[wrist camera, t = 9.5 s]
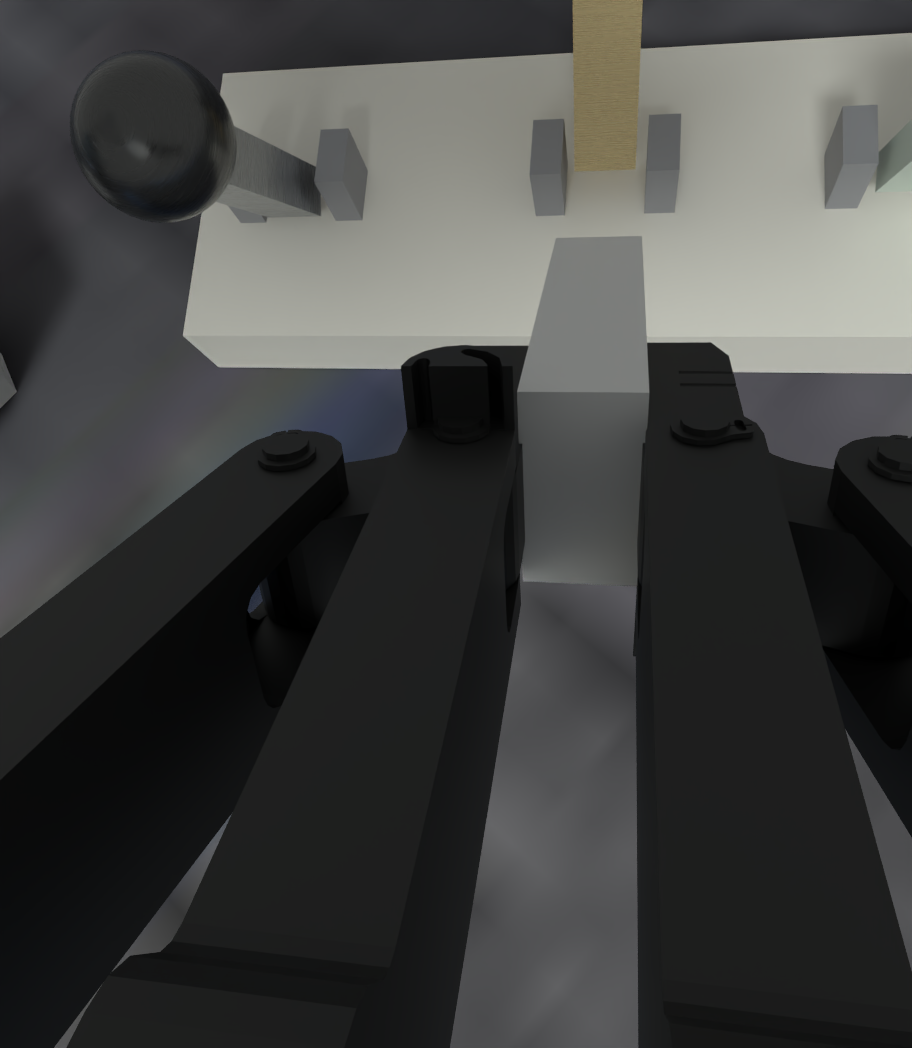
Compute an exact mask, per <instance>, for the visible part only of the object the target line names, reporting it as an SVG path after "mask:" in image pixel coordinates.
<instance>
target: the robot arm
mask: <svg viewBox="0 0 912 1048" xmlns="http://www.w3.org/2000/svg"><path fill="white" fill-rule="evenodd" d="M401 372H402V382H403V391H404V400H405V409H406V419H407V428H408V429H407V432H406V434H405V436H404V438H403V440H402V443H401V445H400V447H399V449H398V451H397V453H395V454H392V455H389V456H384V457H379V458H375V459H369V460H362V461H355V462H348V463H344V458H343V452H342V446H341V443H340V442H339V441H337V440H336V439H335V438H334V437H332V436H330V435H326V434H323V433H319V432H310V431H301V430H288V432H286V431H281V432H276V433H273V434H272V435H271V436H268V437H265V438H262V439H259V440H256V441H254V442H253V443H251V444H249V445H247V446H246V447H244V448H242V449H241V450H239V451H238V452H237V453H236V454H234V455H233V456H232V457H231V458H229V459H228V460H227V461H225V462H224V463H223V464H222V465H220V466H219V467H218V468H217V469H215V470H214V471H213V472H211V473H210V474H209V475H208V476H206V477H205V478H204V479H203V480H201V481H200V482H199V483H197V484H196V485H195V486H194V487H192V488H191V489H190V490H189V491H187V492H186V493H185V494H183V495H182V496H181V497H180V498H178V499H177V500H176V501H175V502H173V503H172V504H171V505H169V506H168V507H167V508H166V509H164V510H163V511H162V512H161V513H159V514H158V515H157V516H155V517H154V518H153V519H152V520H150V521H149V522H148V523H147V524H145V525H144V526H143V527H141V528H140V529H139V530H138V531H136V532H135V533H134V534H133V535H131V536H130V537H129V538H127V539H126V540H125V541H124V542H122V543H121V544H120V545H119V546H117V547H116V548H115V549H113V550H112V551H111V552H110V553H108V554H107V555H106V556H105V557H103V558H102V559H101V560H99V561H98V562H97V563H96V564H94V565H93V566H92V567H91V568H89V569H88V570H87V571H85V572H84V573H83V574H82V575H80V576H79V577H78V578H77V579H75V580H74V581H73V582H71V583H70V584H69V585H68V586H66V587H65V588H64V589H63V590H61V591H60V592H59V593H57V594H56V595H55V596H54V597H52V598H51V599H50V600H49V601H47V602H46V603H45V604H43V605H42V606H41V607H40V608H38V609H37V610H36V611H35V612H33V613H32V614H31V615H29V616H28V617H27V618H26V619H24V620H23V621H22V622H21V623H19V624H18V625H17V626H15V627H14V628H13V629H12V630H10V631H9V632H8V633H7V634H5V635H4V636H3V637H1V638H0V1048H54V1047H55V1045H56V1044H57V1043H58V1041H59V1040H60V1039H61V1037H62V1036H63V1035H64V1034H65V1032H66V1031H67V1030H68V1028H69V1027H70V1026H71V1024H72V1023H73V1022H74V1020H75V1019H76V1018H77V1016H78V1015H79V1014H80V1012H81V1011H82V1010H83V1008H84V1007H85V1006H86V1005H87V1003H88V1002H89V1001H90V999H91V998H92V997H93V995H94V994H95V993H96V991H97V990H98V989H99V987H100V986H101V985H102V986H101V987H100V989H99V990H98V992H97V994H96V995H95V997H94V998H93V1000H92V1002H91V1003H90V1005H89V1006H88V1008H87V1009H86V1011H85V1013H84V1015H83V1016H82V1018H81V1020H80V1022H79V1024H78V1026H77V1028H76V1030H75V1032H74V1034H73V1036H72V1038H71V1040H70V1042H69V1044H68V1046H67V1048H450V1043H451V1036H452V1030H453V1024H454V1018H455V1011H456V1005H457V999H458V993H459V986H460V980H461V974H462V968H463V961H464V955H465V949H466V943H467V937H468V930H469V924H470V918H471V912H472V905H473V899H474V893H475V887H476V880H477V874H478V868H479V862H480V855H481V849H482V843H483V837H484V831H485V824H486V818H487V812H488V806H489V799H490V793H491V787H492V781H493V774H494V768H495V762H496V756H497V750H498V743H499V737H500V731H501V725H502V718H503V712H504V706H505V700H506V693H507V687H508V681H509V675H510V668H511V662H512V656H513V650H514V644H515V637H516V631H517V625H518V619H519V612H520V606H521V596H520V568H521V562H522V564H523V581H530V582H552V583H575V584H597V585H620V586H637V595H636V613H635V631H634V649H633V656H636V732H637V889H638V1045H639V1048H912V971H911V968H910V964H909V960H908V957H907V953H906V949H905V946H904V942H903V938H902V935H901V931H900V927H899V924H898V920H897V917H896V913H895V909H894V906H893V902H892V898H891V895H890V891H889V887H888V884H887V880H886V876H885V873H884V869H883V866H882V862H881V858H880V855H879V851H878V847H877V844H876V840H875V836H874V833H873V829H872V825H871V822H870V818H869V815H868V811H867V807H866V804H865V800H864V796H863V793H862V789H861V785H860V782H859V778H858V775H857V771H856V767H855V764H854V760H853V756H852V753H851V749H850V745H849V742H848V738H847V734H846V731H847V732H848V734H849V736H850V737H851V739H852V741H853V742H854V744H855V746H856V747H857V749H858V750H859V752H860V754H861V755H862V757H863V759H864V760H865V762H866V763H867V765H868V767H869V768H870V770H871V772H872V773H873V775H874V777H875V778H876V780H877V781H878V783H879V785H880V786H881V788H882V790H883V791H884V793H885V794H886V796H887V798H888V799H889V801H890V803H891V804H892V806H893V808H894V809H895V811H896V812H897V814H898V816H899V817H900V819H901V821H902V822H903V824H904V825H905V827H906V829H907V830H908V832H909V834H910V835H911V837H912V437H911V439H910V438H908V436H902V435H892V436H890V437H869V438H864V439H859V440H855V441H852V442H850V443H849V444H847V445H845V446H843V447H842V448H840V449H839V452H838V454H837V457H836V460H835V465H834V469H828V468H823V467H817V466H811V465H806V464H802V463H798V462H793V461H789V460H786V459H783V458H781V457H778V456H775V455H773V454H771V453H769V450H768V447H767V443H766V439H765V436H764V433H763V432H762V430H761V429H760V427H759V426H758V425H757V423H755V422H753V421H751V420H750V419H748V418H746V417H744V415H743V411H742V407H741V403H740V399H739V395H738V391H737V387H736V383H735V378H734V374H733V370H732V366H731V362H730V358H729V355H727V354H726V353H725V352H723V351H722V350H720V349H719V348H718V347H716V346H715V345H714V344H712V343H711V342H682V343H647V332H646V311H645V290H644V269H643V248H642V236H615V237H573V238H556V240H555V244H554V248H553V252H552V256H551V260H550V264H549V268H548V271H547V275H546V279H545V283H544V287H543V291H542V295H541V299H540V303H539V307H538V311H537V315H536V319H535V323H534V327H533V331H532V335H531V339H530V343H529V346H472V345H458V346H445V347H440V348H435V349H431V350H427V351H423V352H421V353H419V354H417V355H415V356H412V357H410V358H409V359H408V360H407V361H406V362H405V363H404V364H402V365H401ZM258 585H259V587H260V591H261V595H262V599H263V602H262V603H261V604H260V605H259V606H258V607H257V608H256V609H255V610H254V611H253V612H251V613H250V614H249V613H248V611H247V610H248V606H249V602H250V599H251V596H252V595H253V593H254V592H255V590H256V589H257V587H258ZM845 729H846V731H845ZM232 812H233V813H232ZM231 814H232V815H231ZM230 815H231V817H230V820H229V822H228V824H227V826H226V828H225V830H224V833H223V835H222V837H221V839H220V841H219V844H218V846H217V848H216V850H215V852H214V855H213V857H212V859H211V861H210V863H209V866H208V868H207V870H206V872H205V874H204V877H203V879H202V881H201V883H200V885H199V887H198V890H197V892H196V894H195V896H194V898H193V901H192V903H191V905H190V907H189V909H188V912H187V914H186V916H185V918H184V920H183V923H182V924H181V926H180V928H179V929H178V931H177V933H176V935H175V936H174V938H173V940H172V941H171V942H170V943H169V944H168V945H167V946H166V947H165V948H164V949H163V950H162V951H161V952H157V953H149V954H141V955H133V956H130V957H128V958H127V959H126V960H125V961H124V962H123V963H122V964H121V965H119V966H118V967H117V968H116V969H115V970H114V971H113V972H112V970H113V969H114V968H115V966H116V965H117V964H118V962H119V961H120V960H121V958H122V957H123V956H124V954H125V953H126V952H127V951H128V949H129V948H130V947H131V945H132V944H133V943H134V941H135V940H136V939H137V937H138V936H139V935H140V933H141V932H142V931H143V929H144V928H145V927H146V925H147V924H148V923H149V922H150V920H151V919H152V918H153V916H154V915H155V914H156V912H157V911H158V910H159V908H160V907H161V906H162V904H163V903H164V902H165V900H166V899H167V898H168V897H169V895H170V894H171V893H172V891H173V890H174V889H175V887H176V886H177V885H178V883H179V882H180V881H181V879H182V878H183V877H184V875H185V874H186V873H187V871H188V870H189V869H190V868H191V866H192V865H193V864H194V862H195V861H196V860H197V858H198V857H199V856H200V854H201V853H202V852H203V850H204V849H205V848H206V846H207V845H208V844H209V842H210V841H211V840H212V839H213V837H214V836H215V835H216V833H217V832H218V831H219V829H220V828H221V827H222V825H223V824H224V823H225V821H226V820H227V819H228V817H229V816H230ZM103 982H104V983H103ZM102 983H103V984H102Z"/></svg>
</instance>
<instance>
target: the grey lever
mask: <svg viewBox="0 0 912 1048" xmlns="http://www.w3.org/2000/svg"><path fill="white" fill-rule="evenodd" d="M70 136H71V142H72V147H73V151H74V154H75V157H76V160H77V162H78V164H79V166H80V168H81V170H82V172H83V174H84V176H85V177H86V179H87V180H88V182H89V183H90V184H91V186H92V187H93V188H94V189H95V190H96V191H97V192H98V193H99V195H100V196H102V197H103V198H104V199H105V200H106V201H107V202H108V203H110V204H111V205H113V206H114V207H115V208H117V209H119V210H120V211H122V212H124V213H126V214H128V215H130V216H133V217H136V218H138V219H141V220H145V221H150V222H159V223H171V222H178V221H182V220H186V219H190V218H192V217H194V216H197V215H198V214H200V213H202V212H203V211H205V210H207V209H208V208H209V207H210V206H212V205H213V204H214V203H215V202H218V203H221V204H225V205H228V206H231V207H235V208H238V209H242V210H245V211H248V212H252V213H255V214H259V215H262V216H265V217H308V216H321V193H320V192H319V190H318V188H317V186H316V184H315V183H314V179H315V171H316V167H315V166H313V165H311V164H309V163H307V162H305V161H303V160H301V159H299V158H297V157H295V156H293V155H291V154H289V153H287V152H285V151H283V150H281V149H279V148H277V147H275V146H273V145H271V144H269V143H267V142H265V141H263V140H261V139H259V138H257V137H255V136H253V135H251V134H249V133H247V132H245V131H243V130H241V129H239V128H237V127H235V126H234V124H233V121H232V118H231V115H230V113H229V110H228V108H227V106H226V104H225V102H224V100H223V98H222V97H221V95H220V94H219V92H218V91H217V90H216V88H215V87H214V86H213V85H212V84H211V82H210V81H209V80H208V79H207V78H206V77H205V76H204V75H203V74H201V73H200V72H199V71H198V70H196V69H195V68H194V67H192V66H191V65H189V64H188V63H186V62H184V61H182V60H180V59H178V58H176V57H173V56H171V55H168V54H165V53H160V52H154V51H147V50H138V51H131V52H124V53H121V54H117V55H115V56H113V57H111V58H109V59H107V60H105V61H103V62H102V63H100V64H99V65H97V66H96V67H95V68H94V69H93V70H92V71H91V72H90V73H89V74H88V75H87V76H86V78H85V79H84V80H83V82H82V84H81V85H80V87H79V88H78V91H77V93H76V95H75V98H74V101H73V104H72V109H71V114H70Z"/></svg>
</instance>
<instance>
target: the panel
mask: <svg viewBox="0 0 912 1048" xmlns="http://www.w3.org/2000/svg"><path fill="white" fill-rule="evenodd" d="M220 95H221V97H222V98H223V100H224V102H225V104H226V106H227V108H228V110H229V113H230V115H231V118H232V121H233V124H234V126H235V127H237V128H239V129H241V130H243V131H245V132H247V133H249V134H251V135H253V136H255V137H257V138H259V139H261V140H263V141H265V142H267V143H269V144H271V145H273V146H275V147H277V148H279V149H281V150H283V151H285V152H287V153H289V154H291V155H293V156H295V157H297V158H299V159H301V160H303V161H305V162H307V163H309V164H311V165H313V166H315V167H316V171H315V179H314V183H315V184H316V186H317V188H318V190H319V192H320V193H321V216H308V217H265V216H262V215H259V214H255V213H252V212H248V211H245V210H242V209H238V208H235V207H231V206H228V205H225V204H221V203H218V202H215V203H214V204H213V205H212V206H210V207H209V208H208V209H207V210H205V211H203V212H202V215H201V221H200V228H199V234H198V241H197V247H196V254H195V260H194V267H193V273H192V280H191V286H190V293H189V299H188V306H187V312H186V319H185V325H184V332H183V336H184V337H185V338H186V339H187V340H188V341H189V342H191V343H192V344H193V345H194V346H195V347H196V348H197V349H198V350H200V351H201V352H202V353H203V354H204V355H205V356H206V357H208V358H209V359H210V360H211V361H212V362H213V363H214V364H215V365H217V366H218V367H235V368H344V369H401V365H402V364H404V363H405V362H406V361H407V360H408V359H409V358H410V357H412V356H415V355H417V354H419V353H421V352H423V351H427V350H431V349H435V348H440V347H445V346H458V345H472V346H529V343H530V339H531V335H532V331H533V327H534V323H535V319H536V315H537V311H538V307H539V303H540V299H541V295H542V291H543V287H544V283H545V279H546V275H547V271H548V268H549V264H550V260H551V256H552V252H553V248H554V244H555V240H556V238H573V237H615V236H642V248H643V269H644V290H645V311H646V332H647V343H682V342H711V343H712V344H714V345H715V346H716V347H718V348H719V349H720V350H722V351H723V352H725V353H726V354H727V355H729V358H730V362H731V366H732V370H733V372H780V373H889V374H912V191H905V192H875V188H876V176H877V166H878V164H879V151H880V150H881V149H882V148H883V147H884V146H885V145H886V144H887V143H888V142H889V141H890V140H891V139H892V138H893V137H894V136H895V135H896V134H897V133H898V132H899V131H900V130H901V129H902V128H903V127H904V126H905V125H906V124H907V123H908V122H909V121H910V120H911V119H912V33H902V34H885V35H868V36H851V37H834V38H817V39H800V40H783V41H766V42H749V43H732V44H715V45H698V46H681V47H664V48H647V49H641V54H640V78H639V102H638V126H637V150H636V170H610V171H580V172H574V79H573V53H562V54H545V55H528V56H511V57H494V58H477V59H460V60H443V61H426V62H409V63H392V64H375V65H358V66H341V67H324V68H307V69H290V70H273V71H256V72H239V73H223V79H222V85H221V91H220Z"/></svg>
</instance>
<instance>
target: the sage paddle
mask: <svg viewBox="0 0 912 1048" xmlns="http://www.w3.org/2000/svg"><path fill="white" fill-rule="evenodd" d="M905 191H912V119H911V120H910V121H909V122H908V123H907V124H906V125H905V126H904V127H903V128H902V129H901V130H900V131H899V132H898V133H897V134H896V135H895V136H894V137H893V138H892V139H891V140H890V141H889V142H888V143H887V144H886V145H885V146H884V147H883V148H882V149H881V150H880V151H879V164H878V166H877V176H876V188H875V192H905Z"/></svg>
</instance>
